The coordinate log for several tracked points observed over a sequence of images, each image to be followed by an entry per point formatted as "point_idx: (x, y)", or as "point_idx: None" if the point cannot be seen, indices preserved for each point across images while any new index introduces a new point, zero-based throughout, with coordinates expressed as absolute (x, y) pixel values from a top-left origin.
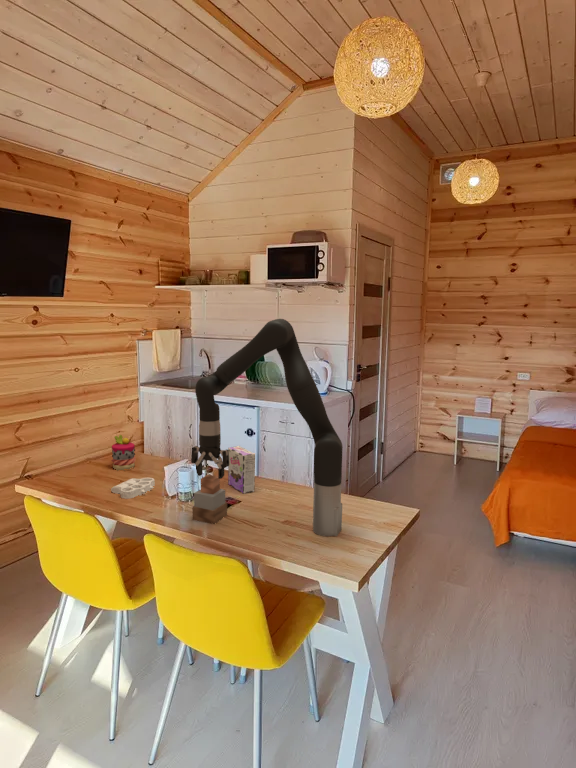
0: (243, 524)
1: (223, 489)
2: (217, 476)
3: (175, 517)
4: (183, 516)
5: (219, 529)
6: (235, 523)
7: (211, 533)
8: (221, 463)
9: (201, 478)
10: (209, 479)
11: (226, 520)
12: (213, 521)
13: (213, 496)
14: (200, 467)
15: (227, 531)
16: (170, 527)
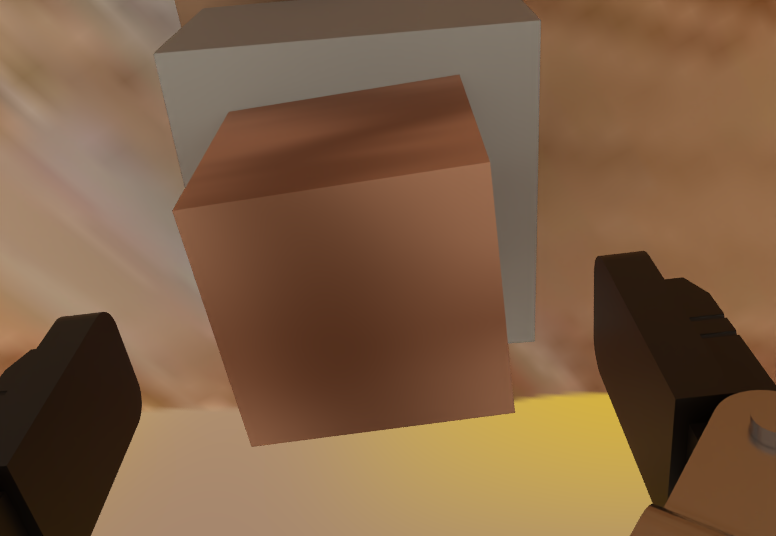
0: (772, 51)
1: (503, 26)
2: (442, 191)
3: (101, 257)
4: (139, 206)
5: (604, 251)
6: (683, 74)
7: (582, 335)
8: (748, 521)
9: (247, 426)
10: (414, 400)
11: (562, 62)
12: None
13: (531, 330)
14: (65, 494)
15: (688, 248)
16: (233, 404)
